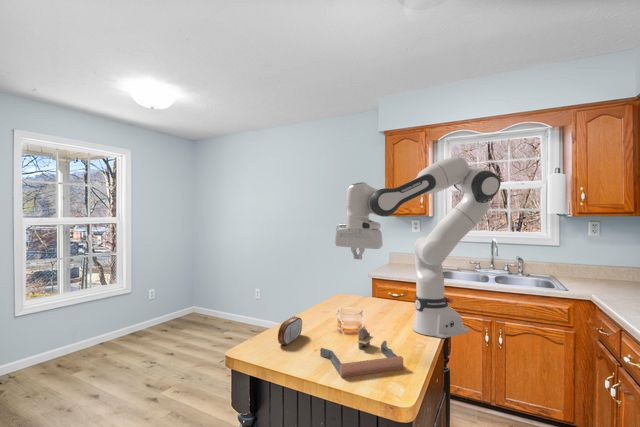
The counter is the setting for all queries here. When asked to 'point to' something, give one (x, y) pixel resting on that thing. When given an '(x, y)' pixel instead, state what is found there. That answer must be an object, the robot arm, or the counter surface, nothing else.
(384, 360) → the brown drawer handle
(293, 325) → the tin
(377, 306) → the counter surface
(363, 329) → the grey irregular piece
